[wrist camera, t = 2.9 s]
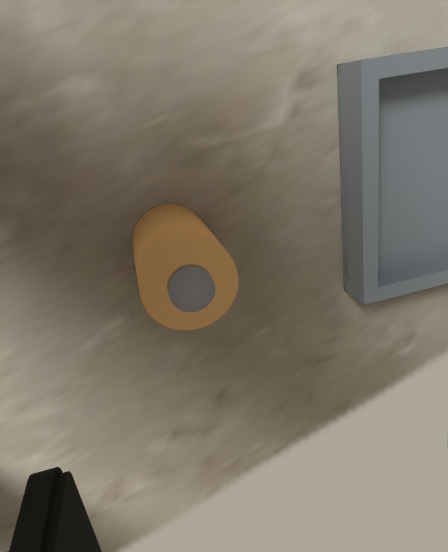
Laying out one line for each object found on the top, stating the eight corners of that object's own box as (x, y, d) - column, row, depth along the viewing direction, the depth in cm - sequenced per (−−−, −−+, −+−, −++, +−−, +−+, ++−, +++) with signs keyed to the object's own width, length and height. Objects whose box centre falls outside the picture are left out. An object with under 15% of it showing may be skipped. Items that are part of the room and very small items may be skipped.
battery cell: (124, 212, 24) (128, 254, 17) (200, 197, 24) (235, 231, 17) (141, 283, 25) (152, 347, 18) (212, 267, 26) (247, 323, 19)
